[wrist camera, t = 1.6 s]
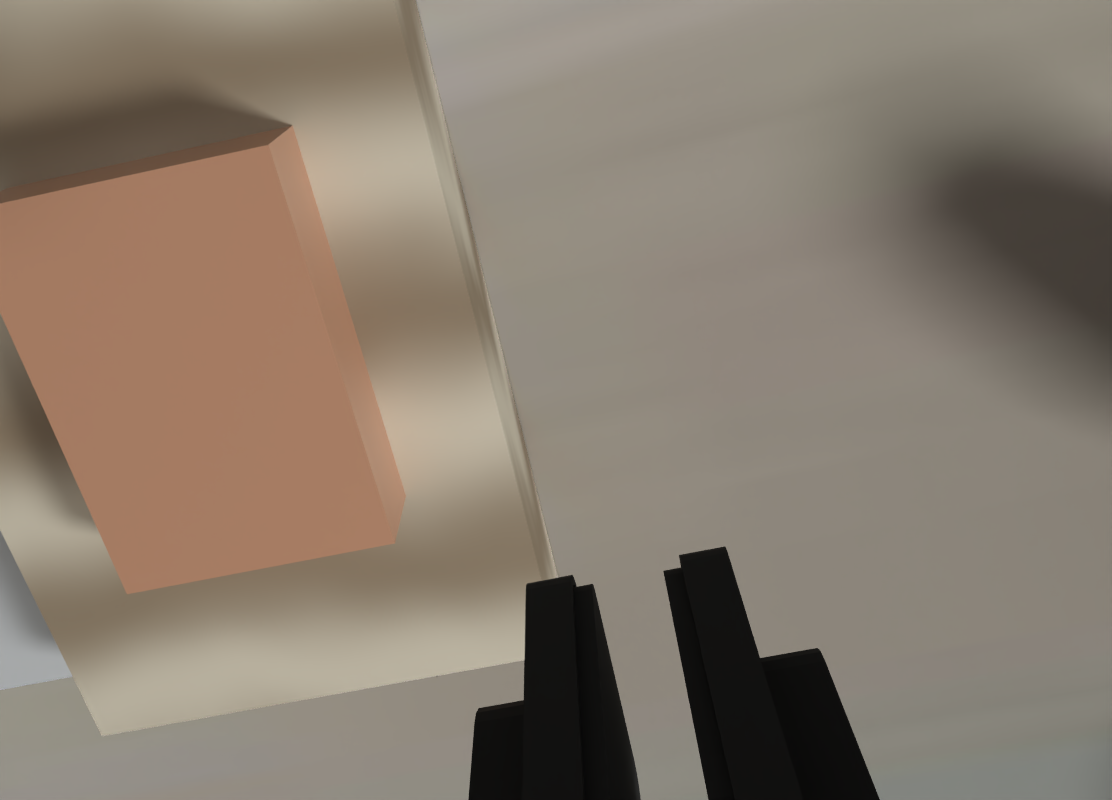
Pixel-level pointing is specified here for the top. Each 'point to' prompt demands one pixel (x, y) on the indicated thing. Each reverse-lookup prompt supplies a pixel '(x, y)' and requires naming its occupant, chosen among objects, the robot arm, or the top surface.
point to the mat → (24, 632)
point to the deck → (382, 330)
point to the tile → (199, 361)
